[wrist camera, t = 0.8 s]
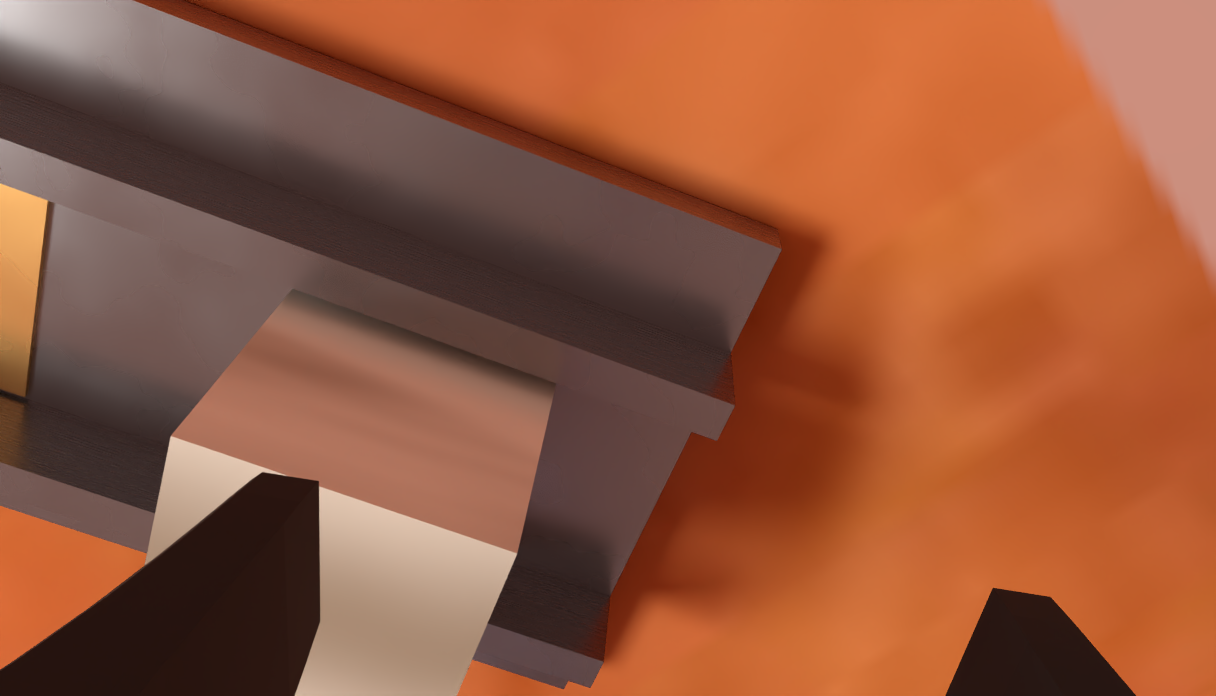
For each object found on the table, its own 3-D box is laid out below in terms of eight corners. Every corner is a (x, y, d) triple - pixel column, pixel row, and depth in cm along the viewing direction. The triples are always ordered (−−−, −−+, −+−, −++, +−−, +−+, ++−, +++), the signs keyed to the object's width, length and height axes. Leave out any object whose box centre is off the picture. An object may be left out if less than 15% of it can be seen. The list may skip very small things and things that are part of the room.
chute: (568, 658, 25) (553, 758, 22) (-273, 381, 23) (-398, 455, 20) (777, 229, 20) (792, 295, 17) (-300, -187, 18) (-475, -185, 15)
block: (485, 544, 22) (422, 776, 17) (260, 468, 22) (121, 682, 16) (562, 355, 20) (517, 553, 15) (312, 264, 19) (170, 436, 14)
